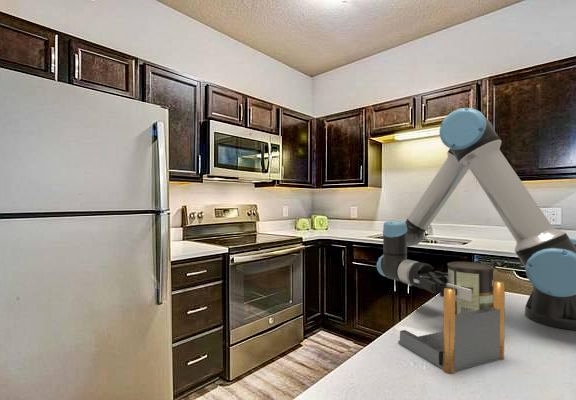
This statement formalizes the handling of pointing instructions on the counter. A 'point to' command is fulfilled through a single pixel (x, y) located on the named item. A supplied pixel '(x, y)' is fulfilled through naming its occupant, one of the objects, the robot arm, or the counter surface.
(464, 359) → the keeper bracket
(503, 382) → the counter surface
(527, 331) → the counter surface
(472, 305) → the coffee can
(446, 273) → the robot arm
